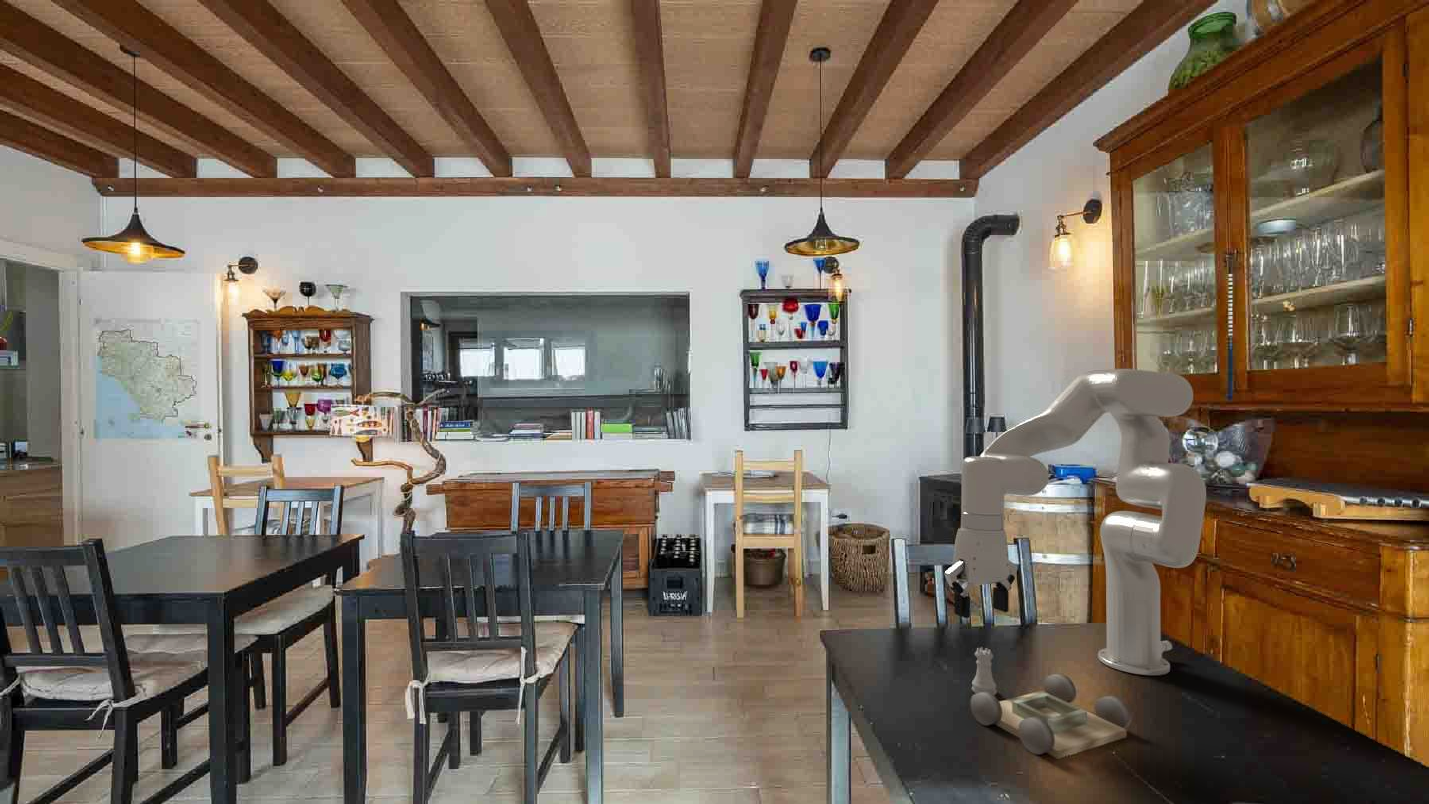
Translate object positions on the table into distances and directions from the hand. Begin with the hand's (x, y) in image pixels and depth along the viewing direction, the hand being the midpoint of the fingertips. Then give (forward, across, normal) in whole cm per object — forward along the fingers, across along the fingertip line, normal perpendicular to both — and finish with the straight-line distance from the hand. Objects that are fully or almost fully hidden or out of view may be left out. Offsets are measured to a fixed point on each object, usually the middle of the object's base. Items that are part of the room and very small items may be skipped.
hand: (981, 613), depth 123 cm
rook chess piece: (+15, -1, 0) cm, 15 cm away
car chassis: (+15, -1, +14) cm, 21 cm away
